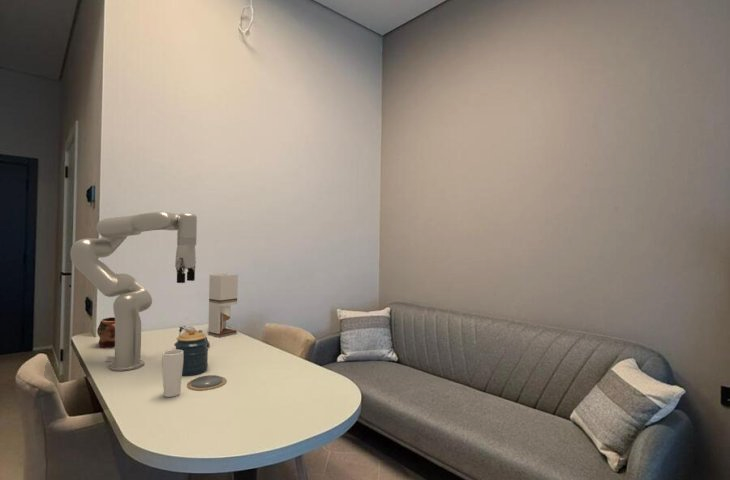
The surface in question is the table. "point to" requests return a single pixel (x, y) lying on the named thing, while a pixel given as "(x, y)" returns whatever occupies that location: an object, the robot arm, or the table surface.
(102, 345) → the decorative planter
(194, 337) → the canister
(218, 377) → the round coaster
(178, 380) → the drinking glass
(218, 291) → the notched white tower
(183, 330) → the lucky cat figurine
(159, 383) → the table surface
